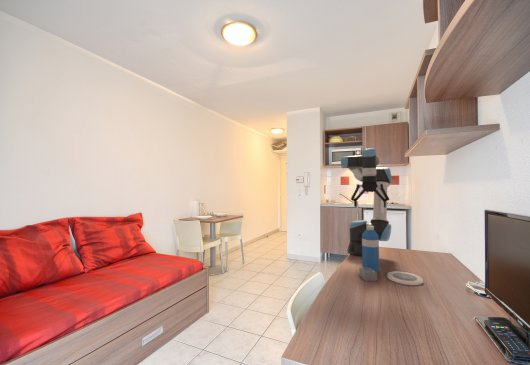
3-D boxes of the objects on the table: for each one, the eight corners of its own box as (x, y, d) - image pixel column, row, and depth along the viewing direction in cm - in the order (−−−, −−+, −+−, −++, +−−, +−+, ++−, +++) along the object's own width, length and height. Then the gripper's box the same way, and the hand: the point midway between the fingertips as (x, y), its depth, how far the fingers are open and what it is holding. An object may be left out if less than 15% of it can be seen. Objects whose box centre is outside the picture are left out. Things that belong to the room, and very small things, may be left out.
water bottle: (382, 272, 132) (382, 227, 133) (365, 272, 132) (365, 227, 133) (375, 267, 141) (374, 224, 142) (359, 267, 142) (358, 224, 142)
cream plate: (383, 272, 133) (383, 270, 133) (415, 274, 129) (415, 272, 129) (392, 283, 117) (392, 281, 117) (429, 286, 114) (429, 284, 114)
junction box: (359, 275, 129) (359, 266, 129) (370, 275, 129) (370, 266, 129) (364, 280, 121) (364, 271, 121) (376, 280, 121) (376, 272, 121)
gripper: (347, 175, 137) (347, 213, 136) (395, 175, 132) (395, 213, 131) (345, 176, 144) (346, 211, 144) (391, 175, 139) (391, 212, 138)
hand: (369, 212), depth 137 cm, fingers open, 13 cm apart
